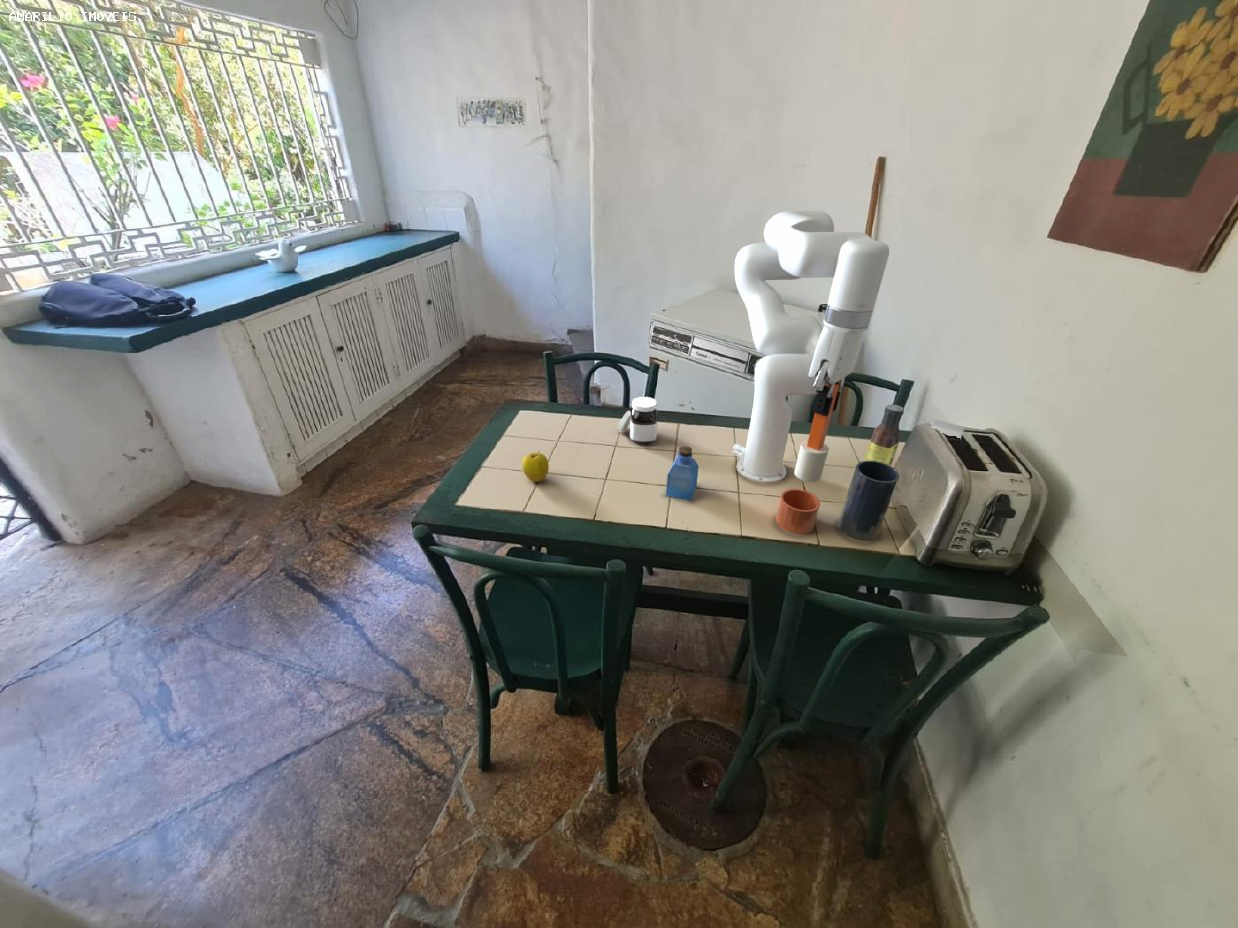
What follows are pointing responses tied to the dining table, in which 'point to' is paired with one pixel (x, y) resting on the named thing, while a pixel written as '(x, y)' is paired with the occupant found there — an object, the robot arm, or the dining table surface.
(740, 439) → the dining table surface
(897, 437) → the sauce bottle
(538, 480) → the apple
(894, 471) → the dark blue cylindrical vase
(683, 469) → the perfume bottle
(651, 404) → the spread jar
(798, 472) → the brush
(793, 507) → the brush holder
